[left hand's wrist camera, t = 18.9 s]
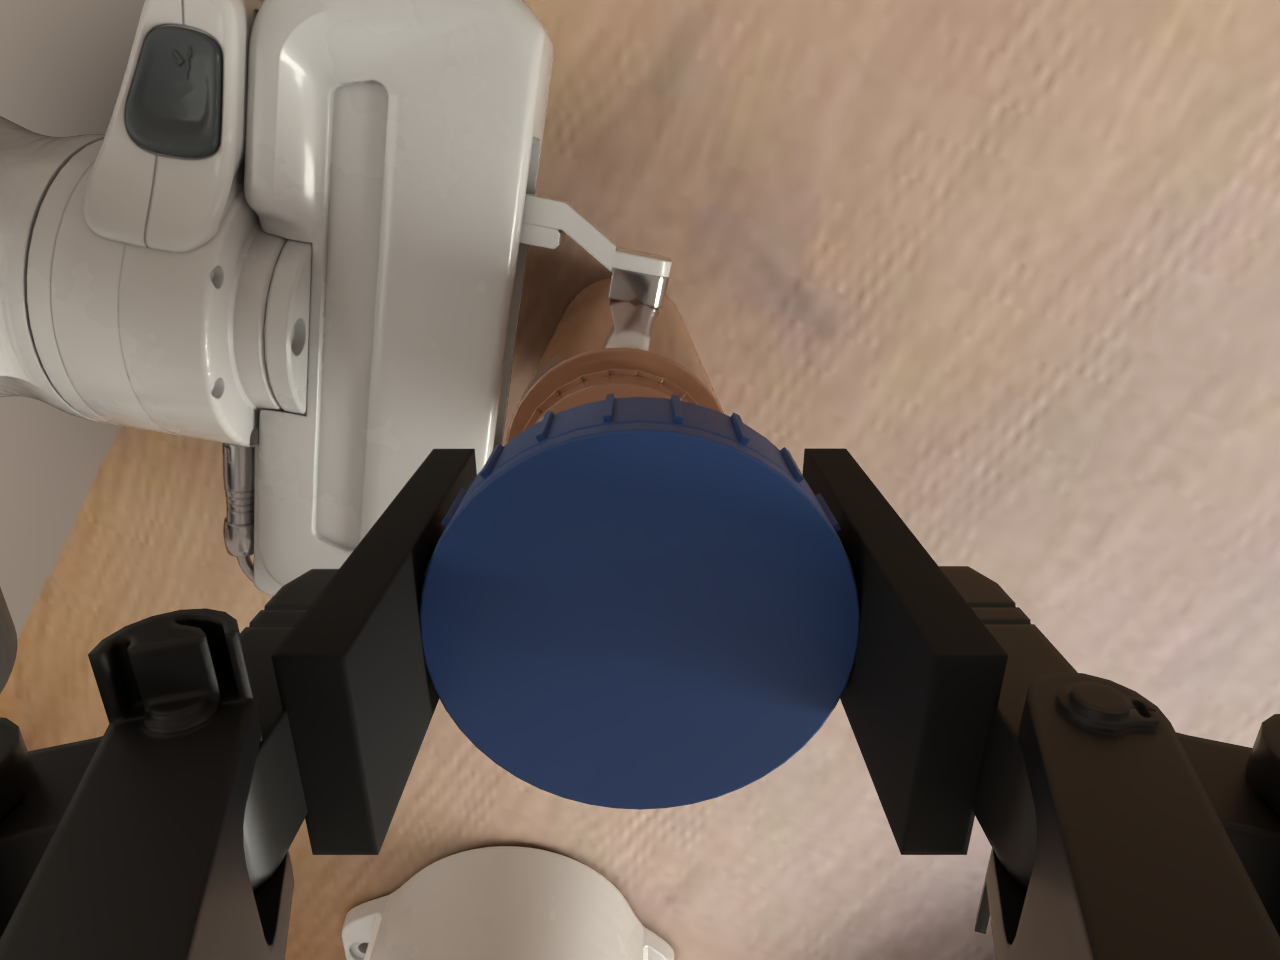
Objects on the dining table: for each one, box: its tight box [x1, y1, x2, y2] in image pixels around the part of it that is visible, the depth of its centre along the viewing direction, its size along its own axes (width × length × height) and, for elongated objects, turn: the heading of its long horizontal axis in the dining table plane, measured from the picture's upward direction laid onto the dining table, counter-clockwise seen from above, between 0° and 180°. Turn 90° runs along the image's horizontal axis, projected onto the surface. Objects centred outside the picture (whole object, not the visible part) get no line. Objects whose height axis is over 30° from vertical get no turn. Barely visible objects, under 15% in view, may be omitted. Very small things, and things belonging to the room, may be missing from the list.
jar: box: [506, 278, 724, 444], centre depth 24 cm, size 5×5×16 cm
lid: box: [419, 393, 860, 809], centre depth 11 cm, size 6×6×2 cm
